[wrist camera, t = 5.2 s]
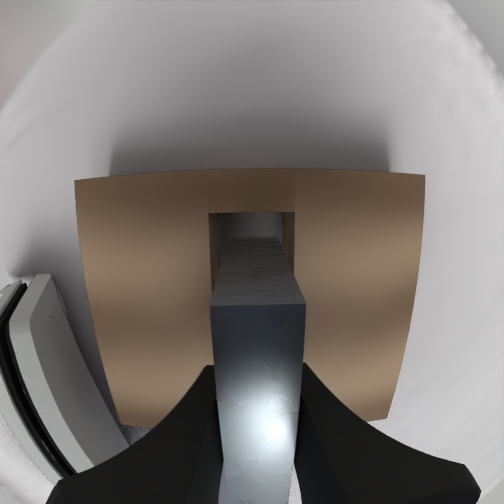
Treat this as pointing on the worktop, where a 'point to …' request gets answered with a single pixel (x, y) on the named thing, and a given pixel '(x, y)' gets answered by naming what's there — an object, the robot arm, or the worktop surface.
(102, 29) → the worktop surface
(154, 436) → the robot arm
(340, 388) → the slotted tan panel
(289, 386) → the grey flat-faced block
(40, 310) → the grey arched slab
